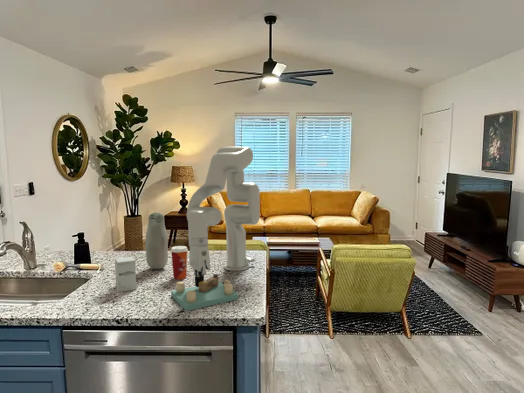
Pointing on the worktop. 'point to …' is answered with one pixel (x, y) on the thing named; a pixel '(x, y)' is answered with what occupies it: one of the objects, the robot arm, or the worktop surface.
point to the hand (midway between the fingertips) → (199, 285)
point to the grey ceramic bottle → (156, 242)
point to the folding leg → (208, 283)
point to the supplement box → (125, 274)
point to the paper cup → (179, 261)
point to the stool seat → (203, 295)
